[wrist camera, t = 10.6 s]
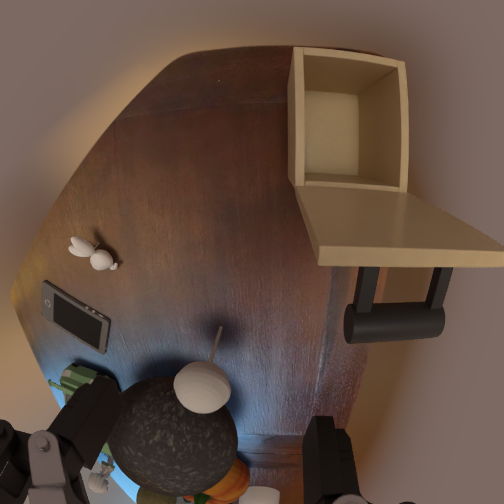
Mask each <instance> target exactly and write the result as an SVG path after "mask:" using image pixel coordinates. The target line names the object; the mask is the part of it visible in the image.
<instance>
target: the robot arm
mask: <svg viewBox="0 0 504 504" xmlns="http://www.w3.org/2000/svg"><path fill="white" fill-rule="evenodd" d="M121 411H122V401H121V397H120V394H119V390H118V386H117V383H116V381H115V380H113V379H110V378H107V377H104V376H101V375H98V376H96V377H95V379H94V380H93V382H92V383H91V384H89V383H85V384H83V385H82V386H80V387H79V388H77V389H76V391H75V392H74V393H73V395H72V396H71V399H69V400H68V401H67V403H66V405H65V406H64V407H63V408H62V410H61V411H60V413H59V414H58V415H57V417H56V418H55V420H54V421H53V422H52V424H51V425H50V427H49V428H48V429H47V430H46V431H44V430H41V431H37V432H35V433H33V434H29V433H25V432H21V431H17V430H14V428H13V427H12V425H11V424H10V423H9V422H7V421H6V420H0V474H1V473H2V474H1V476H0V504H23V503H24V501H25V499H26V497H27V495H29V501H30V504H90V503H89V500H88V497H87V494H86V490H85V487H84V484H83V480H82V476H81V473H80V470H81V468H82V467H83V466H84V467H85V468H88V469H90V470H92V468H93V466H94V464H95V462H96V460H97V458H98V456H99V454H100V452H101V450H102V448H103V446H104V445H105V443H106V441H107V439H108V437H109V435H110V433H111V431H112V430H113V428H114V426H115V424H116V422H117V420H118V418H119V417H120V414H121ZM302 453H303V483H304V504H372V503H369V502H368V501H366V500H365V499H364V498H363V497H362V495H361V494H360V491H359V485H358V479H357V473H356V467H355V461H354V456H353V451H352V445H351V440H350V437H349V436H348V434H347V433H346V431H345V430H344V429H335V425H334V419H333V417H332V416H313V417H312V419H311V421H310V424H309V426H308V428H307V431H306V433H305V435H304V439H303V445H302ZM7 462H8V463H7ZM6 464H7V465H6ZM5 466H6V467H5ZM4 467H5V468H4ZM3 469H4V470H3ZM2 471H3V472H2ZM400 504H415V503H413V502H403V503H400Z"/></svg>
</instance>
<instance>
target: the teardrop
mask: <svg viewBox="0 0 504 504" xmlns="http://www.w3.org/2000/svg"><path fill="white" fill-rule="evenodd" d="M279 496H280V492H279V491H278V490H276V489H273V488H269V487H262V486H252V487H248V489H247V490H246V492H245V493H244V494H243V495H242V496H241V497H239V504H279Z"/></svg>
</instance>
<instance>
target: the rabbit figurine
mask: <svg viewBox="0 0 504 504" xmlns="http://www.w3.org/2000/svg"><path fill="white" fill-rule="evenodd" d="M71 242H72V244H73V245H71V246H69V251H70V252H71V253H72V254H73V255H76V256H79V257H88V256H91V259H90V261H91V265H92V267H93V268H94V269H96V270H105V269H107V268H110V269H111V270H116V269H117V266H118V264H117V263H114V265H113V259H112V257H111V255H110V254H109V253H108V252H107V251H105V250H100V249H99V250H95V248H96V247H97V246H98V244H99V243H98V244H97V245H96V247H95V248H94V247H93V245H92V244H90V243H89V242H88V241H86V240H84V239H82V238H81V237H71Z"/></svg>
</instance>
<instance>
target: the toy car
mask: <svg viewBox="0 0 504 504" xmlns="http://www.w3.org/2000/svg"><path fill="white" fill-rule="evenodd" d="M98 375H101V376H104V377H107V378H109V377H108V376H107V375H104V374H102V373H99V372H96V371H94V370H91V369H89V368H86V367H83V366H80V365H77V364H75V363H72V364H70V365H69V366H68V367H67V368H66V369H65V370H64V371H63V373H62V376H61V379H60V383H61V386H60V385H58V384H56V383H54V382H52V381H51V379H50V380H49V381H48V383H49V385H50V386H54V387H56V388H58V389H60V390H62V391H63V394H64V396H65V405H66V403H67V401H68V400H69V399H71V396H72V395H73V393H74V392H75V391H76V389H77V388H79V387H80V386H82V385H83V384H85V383H89V384H91V383H92V382H93V380H94V379H95V377H96V376H98ZM119 394H120V395H121V392H120V390H119ZM101 451H102V452H104V453H105V454H107V455H110V456H112V454H111V452H110V449H109V446H108V442H107V441H106V443H105V445H104V446H103V448H102V450H101Z"/></svg>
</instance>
